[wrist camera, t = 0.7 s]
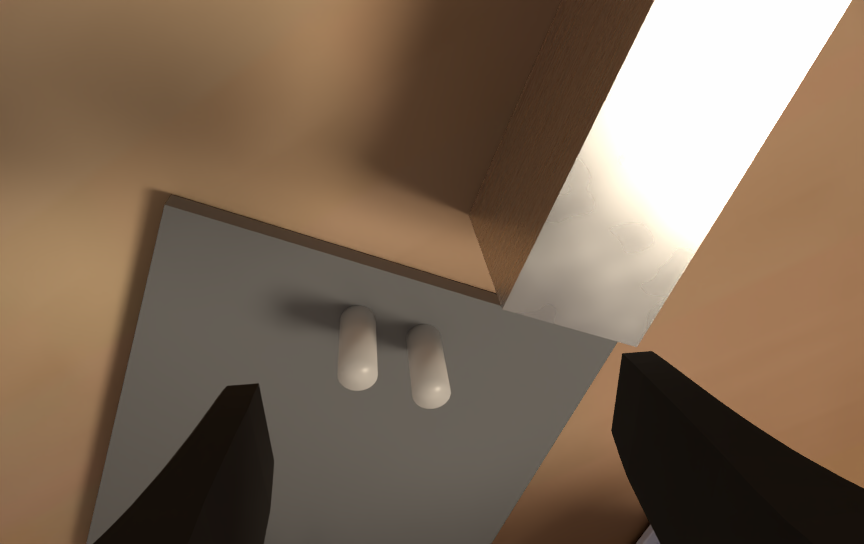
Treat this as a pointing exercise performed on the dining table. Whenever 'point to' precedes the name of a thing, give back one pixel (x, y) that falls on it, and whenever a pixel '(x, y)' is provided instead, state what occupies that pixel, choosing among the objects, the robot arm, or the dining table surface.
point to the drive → (634, 149)
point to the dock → (343, 383)
